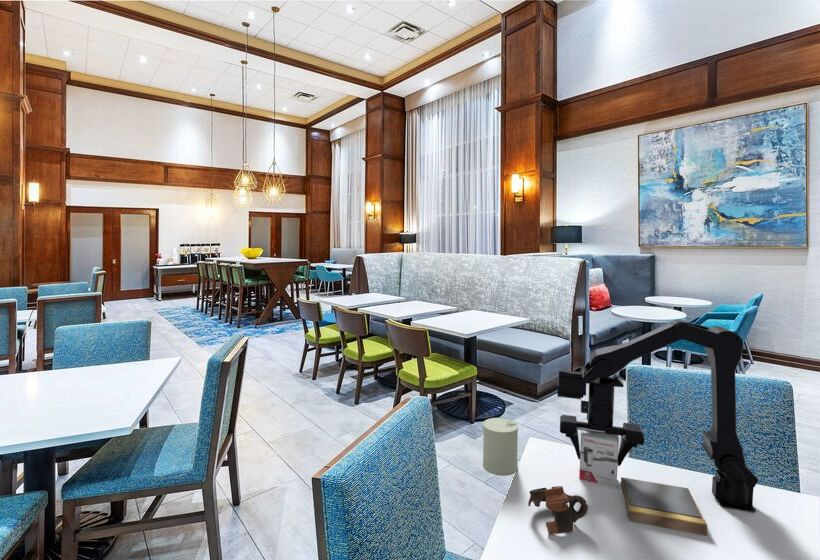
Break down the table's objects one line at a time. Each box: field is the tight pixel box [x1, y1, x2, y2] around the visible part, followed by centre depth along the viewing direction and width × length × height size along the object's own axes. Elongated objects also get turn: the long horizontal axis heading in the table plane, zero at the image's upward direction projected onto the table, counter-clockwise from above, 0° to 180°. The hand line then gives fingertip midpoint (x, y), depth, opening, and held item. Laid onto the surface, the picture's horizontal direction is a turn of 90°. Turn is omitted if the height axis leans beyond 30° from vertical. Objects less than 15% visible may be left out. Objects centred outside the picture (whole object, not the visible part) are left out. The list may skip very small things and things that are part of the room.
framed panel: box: [620, 477, 708, 536], centre depth 93 cm, size 14×14×2 cm
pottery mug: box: [527, 485, 589, 535], centre depth 89 cm, size 12×10×8 cm
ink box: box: [578, 430, 620, 489], centre depth 104 cm, size 9×5×12 cm, turn 62°
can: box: [482, 417, 519, 477], centre depth 110 cm, size 9×9×12 cm
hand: (598, 461), depth 104 cm, fingers closed on ink box, 9 cm apart
